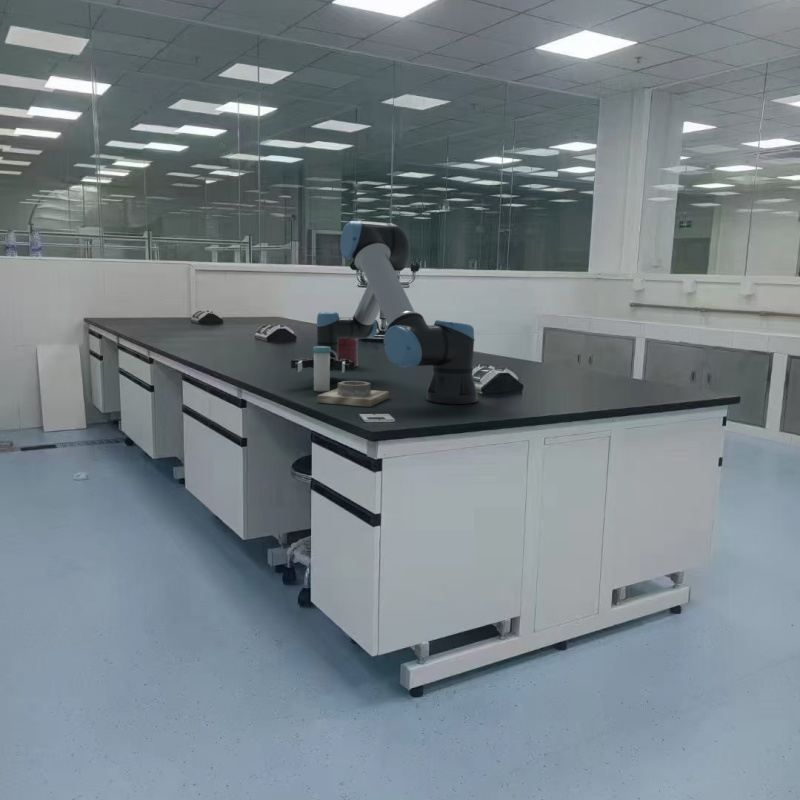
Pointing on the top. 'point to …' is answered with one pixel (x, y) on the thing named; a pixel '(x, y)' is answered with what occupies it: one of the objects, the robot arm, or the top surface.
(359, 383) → the collar base
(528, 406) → the top surface
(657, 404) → the top surface
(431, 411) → the top surface
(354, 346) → the canister
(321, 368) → the canister
